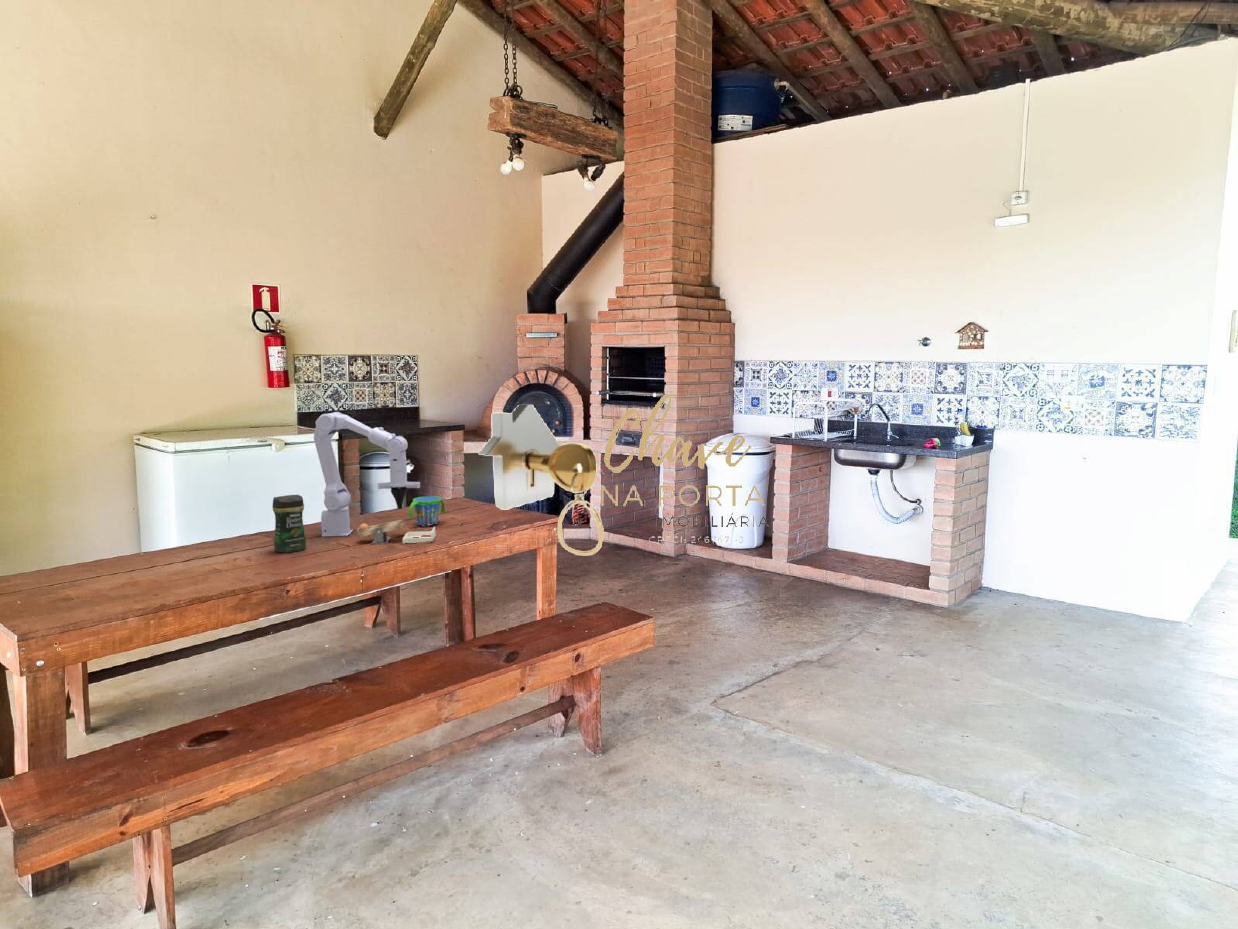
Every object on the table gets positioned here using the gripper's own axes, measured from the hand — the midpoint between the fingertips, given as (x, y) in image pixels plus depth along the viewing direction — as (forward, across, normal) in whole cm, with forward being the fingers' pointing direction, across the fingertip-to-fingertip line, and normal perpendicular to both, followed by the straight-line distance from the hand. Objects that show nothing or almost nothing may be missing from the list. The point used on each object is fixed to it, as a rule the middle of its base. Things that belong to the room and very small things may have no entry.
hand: (400, 508), depth 288 cm
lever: (+6, -6, -4) cm, 10 cm away
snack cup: (+10, +8, +17) cm, 21 cm away
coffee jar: (+10, -34, -17) cm, 39 cm away
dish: (+10, +7, -8) cm, 15 cm away
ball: (+5, -11, -8) cm, 15 cm away
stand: (+10, -6, -8) cm, 14 cm away
